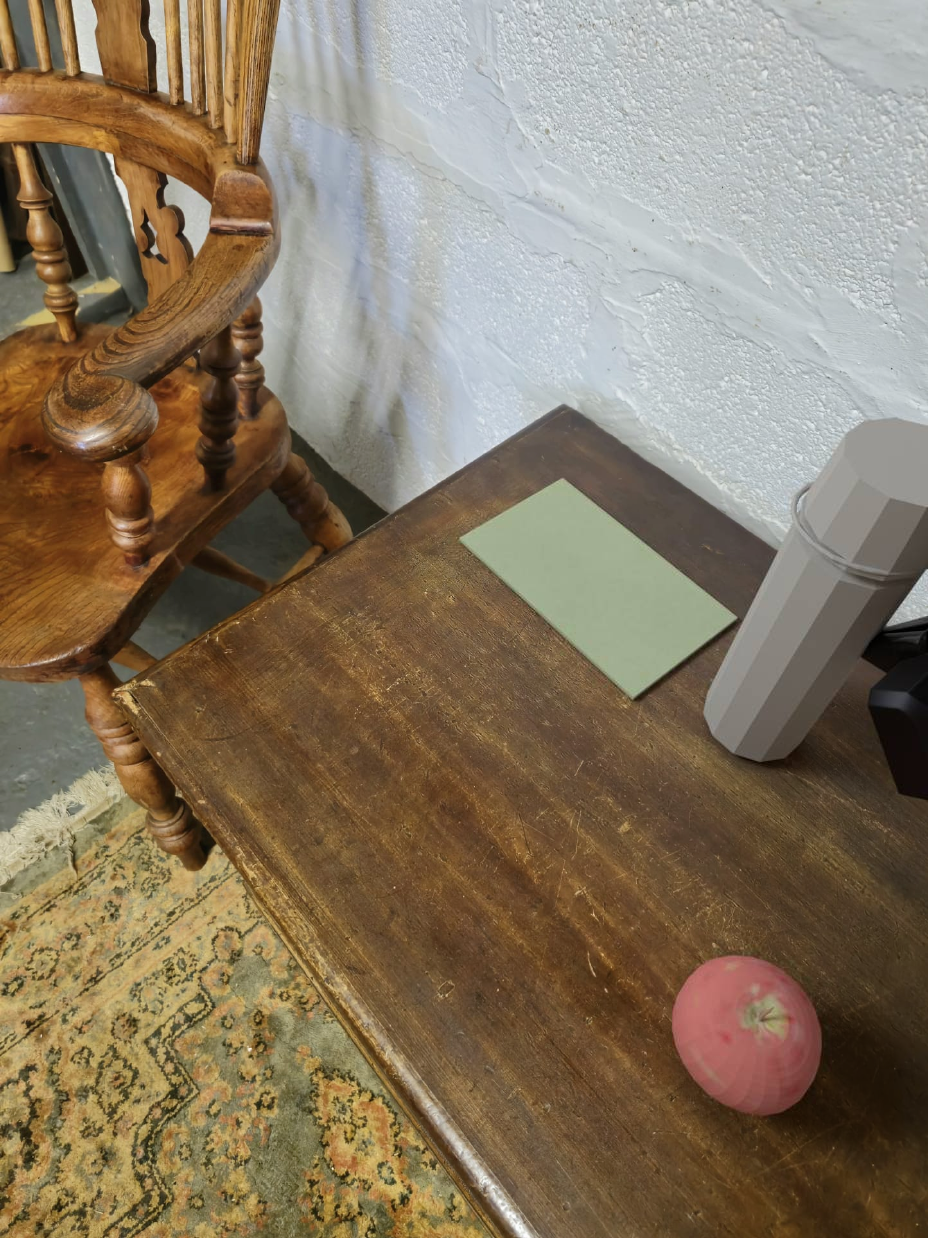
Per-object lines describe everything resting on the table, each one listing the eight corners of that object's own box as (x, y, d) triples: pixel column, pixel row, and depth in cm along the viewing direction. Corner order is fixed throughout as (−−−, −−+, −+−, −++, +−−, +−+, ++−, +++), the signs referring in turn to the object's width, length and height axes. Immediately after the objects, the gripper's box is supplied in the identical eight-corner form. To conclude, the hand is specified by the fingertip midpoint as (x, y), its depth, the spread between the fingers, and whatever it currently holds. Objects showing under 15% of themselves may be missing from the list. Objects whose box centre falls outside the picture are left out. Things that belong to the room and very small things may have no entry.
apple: (687, 954, 51) (725, 909, 45) (805, 1024, 49) (863, 988, 43) (636, 1070, 47) (670, 1039, 41) (762, 1152, 45) (818, 1133, 39)
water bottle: (813, 773, 59) (1013, 521, 39) (700, 763, 59) (842, 507, 39) (791, 664, 64) (957, 396, 45) (688, 655, 65) (808, 384, 45)
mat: (736, 620, 67) (738, 617, 67) (632, 700, 62) (633, 697, 62) (562, 480, 76) (562, 477, 76) (459, 540, 71) (459, 537, 71)
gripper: (1226, 405, 39) (905, 456, 52) (1025, 601, 31) (710, 601, 45) (1270, 618, 41) (954, 614, 55) (1096, 846, 34) (778, 775, 47)
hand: (858, 644), depth 50 cm, fingers closed
